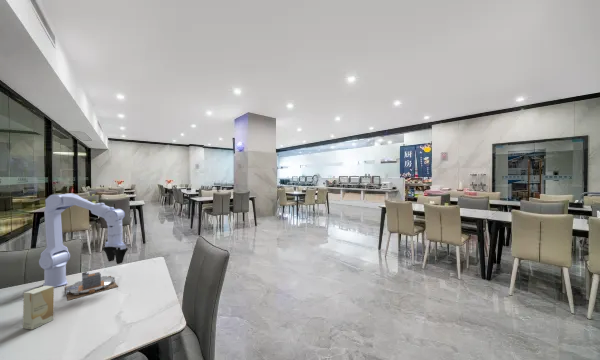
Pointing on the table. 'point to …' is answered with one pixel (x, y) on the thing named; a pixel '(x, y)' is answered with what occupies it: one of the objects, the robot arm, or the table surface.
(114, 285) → the walnut board
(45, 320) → the skincare box
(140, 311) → the table surface
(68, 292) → the sprocket
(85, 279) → the gray cube
